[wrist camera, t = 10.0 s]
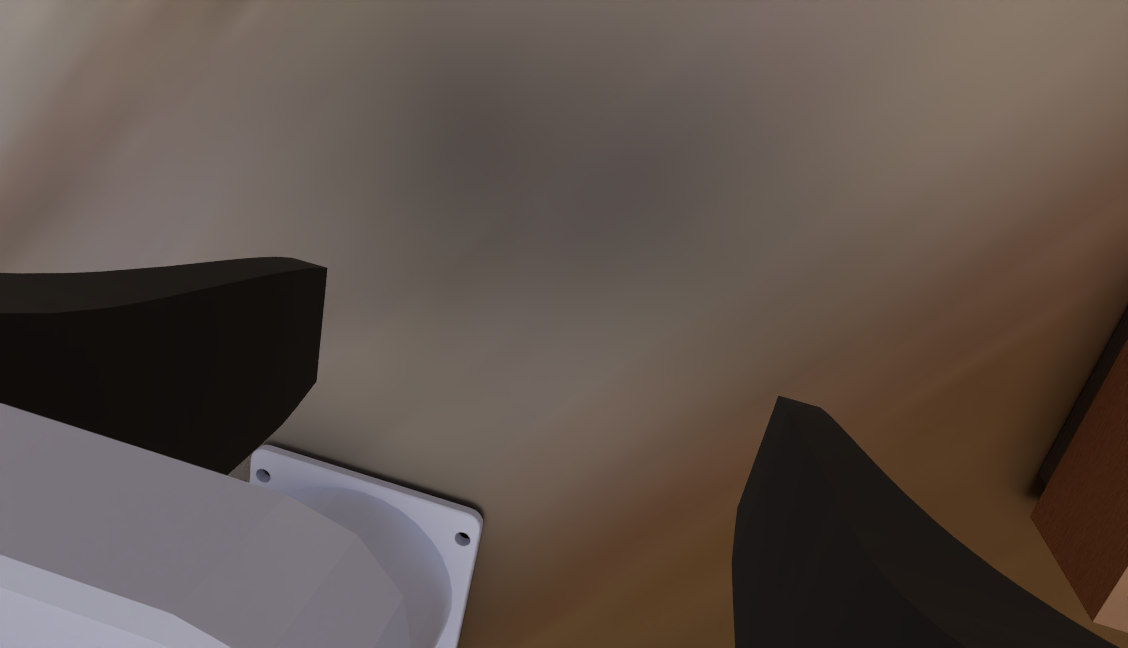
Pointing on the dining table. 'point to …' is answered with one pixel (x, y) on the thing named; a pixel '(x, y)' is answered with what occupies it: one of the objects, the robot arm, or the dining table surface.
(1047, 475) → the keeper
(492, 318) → the dining table surface
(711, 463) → the dining table surface
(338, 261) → the dining table surface
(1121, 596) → the copper rectangular sleeve
